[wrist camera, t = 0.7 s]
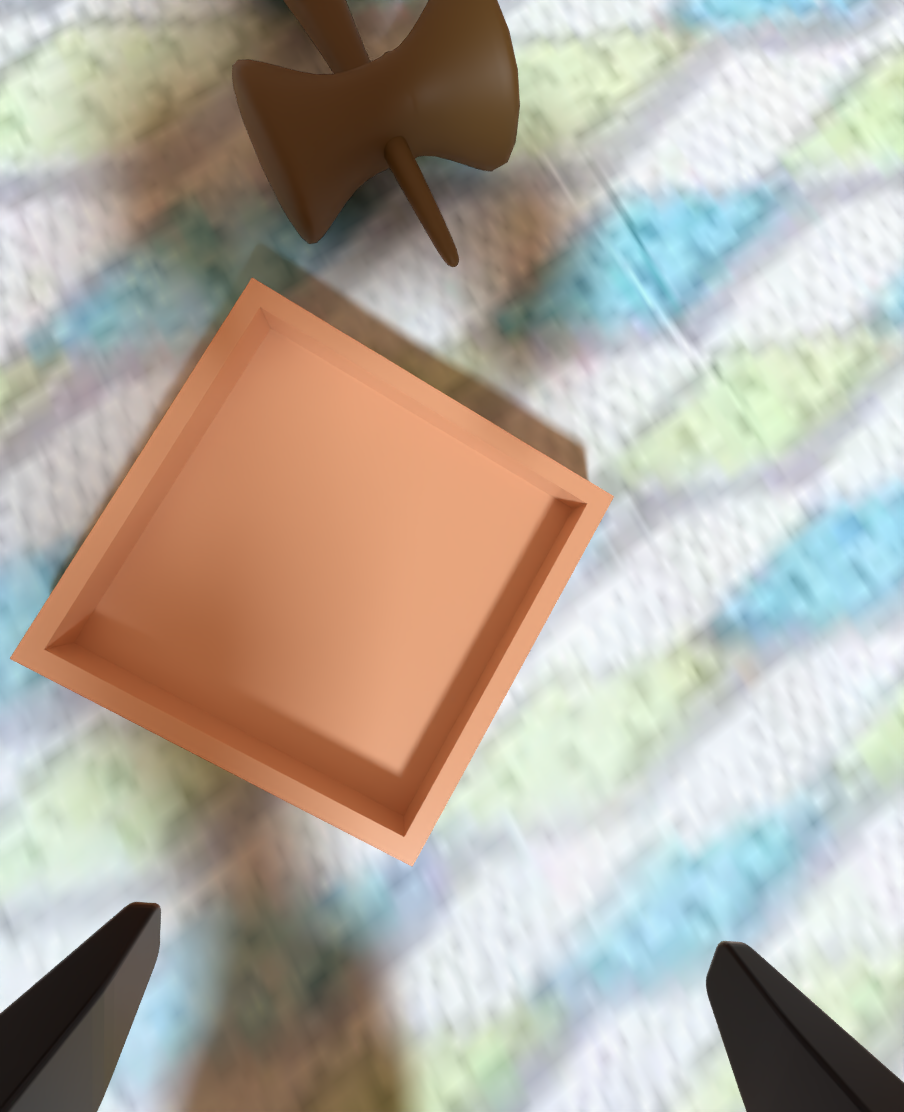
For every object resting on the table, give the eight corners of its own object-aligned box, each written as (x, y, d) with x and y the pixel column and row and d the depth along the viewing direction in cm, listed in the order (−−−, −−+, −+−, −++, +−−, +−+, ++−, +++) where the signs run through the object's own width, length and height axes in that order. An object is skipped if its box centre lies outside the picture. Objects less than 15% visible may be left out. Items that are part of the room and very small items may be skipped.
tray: (410, 833, 22) (412, 866, 19) (56, 648, 21) (9, 658, 18) (590, 504, 23) (614, 496, 21) (268, 310, 22) (251, 277, 19)
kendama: (339, -134, 23) (545, 261, 23) (138, -57, 23) (351, 353, 23) (314, -377, 17) (591, 152, 17) (40, -286, 17) (329, 271, 17)
